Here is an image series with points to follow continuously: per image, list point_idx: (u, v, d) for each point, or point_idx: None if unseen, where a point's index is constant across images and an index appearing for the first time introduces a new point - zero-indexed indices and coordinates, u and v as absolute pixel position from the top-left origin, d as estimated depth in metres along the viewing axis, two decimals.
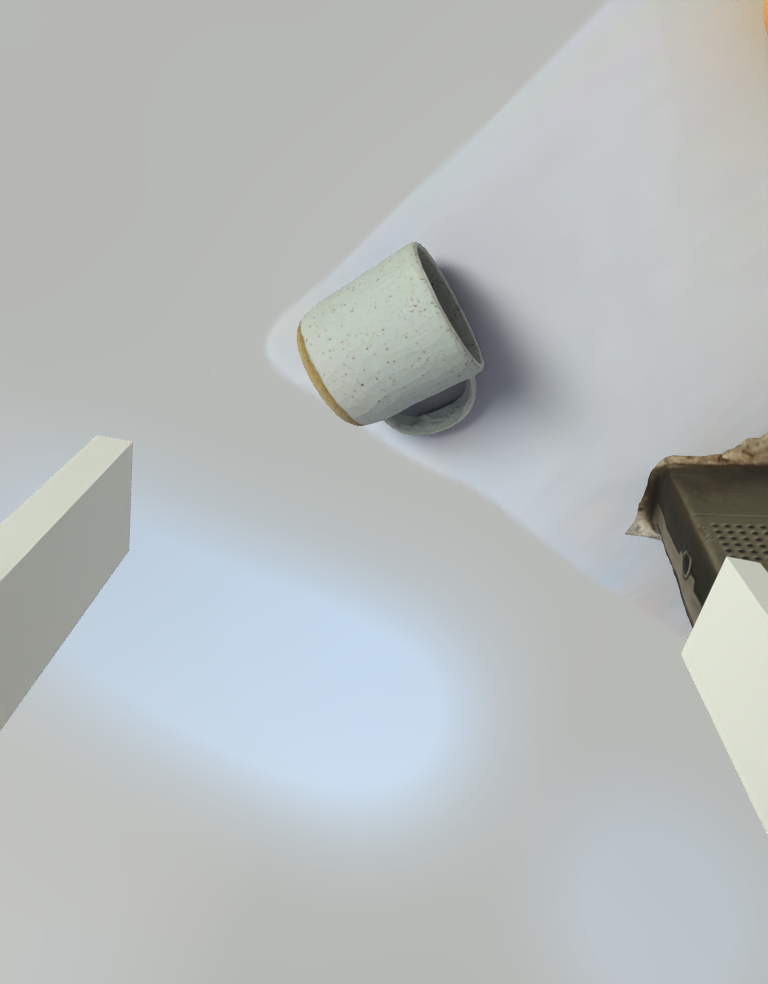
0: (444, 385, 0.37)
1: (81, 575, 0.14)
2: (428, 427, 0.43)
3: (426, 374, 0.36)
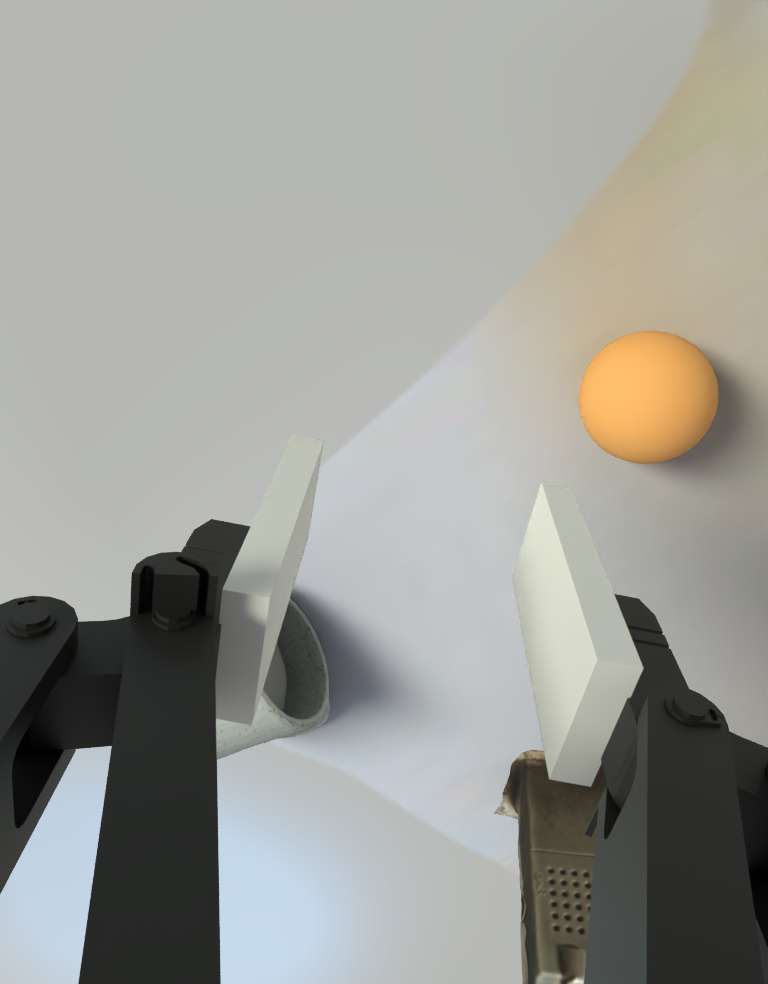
0: (281, 736, 0.37)
1: (296, 557, 0.16)
2: None
3: (256, 738, 0.35)
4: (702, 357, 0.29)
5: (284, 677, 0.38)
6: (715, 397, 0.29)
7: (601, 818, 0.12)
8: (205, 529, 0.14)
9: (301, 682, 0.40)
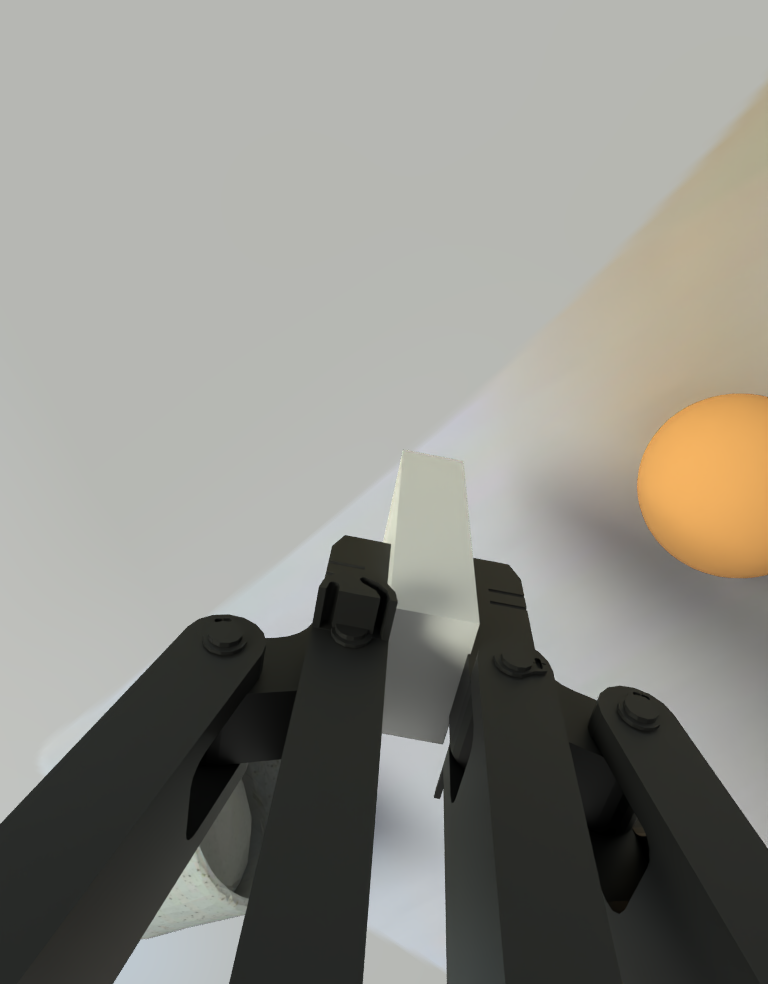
0: None
1: None
2: None
3: (207, 921, 0.27)
4: None
5: (248, 823, 0.30)
6: None
7: (447, 781, 0.12)
8: (342, 546, 0.15)
9: None
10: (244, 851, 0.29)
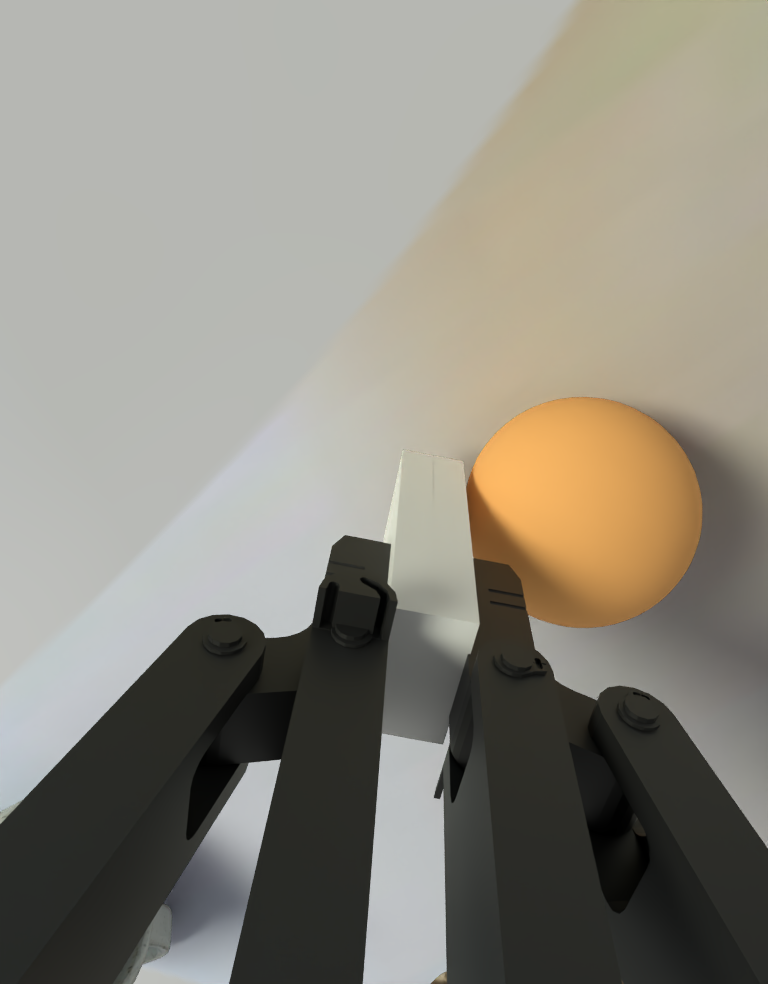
0: None
1: None
2: None
3: None
4: (669, 449, 0.16)
5: None
6: (695, 521, 0.16)
7: (447, 781, 0.12)
8: (342, 546, 0.15)
9: None
10: None
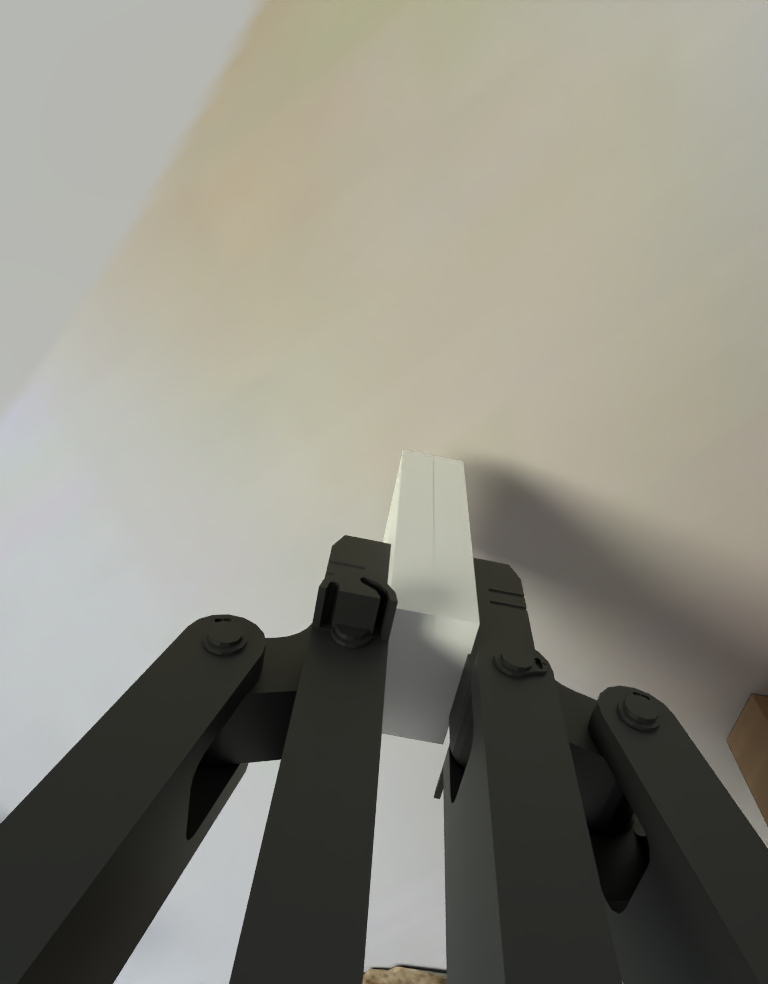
0: None
1: None
2: None
3: None
4: None
5: None
6: None
7: (447, 781, 0.12)
8: (341, 546, 0.15)
9: None
10: None
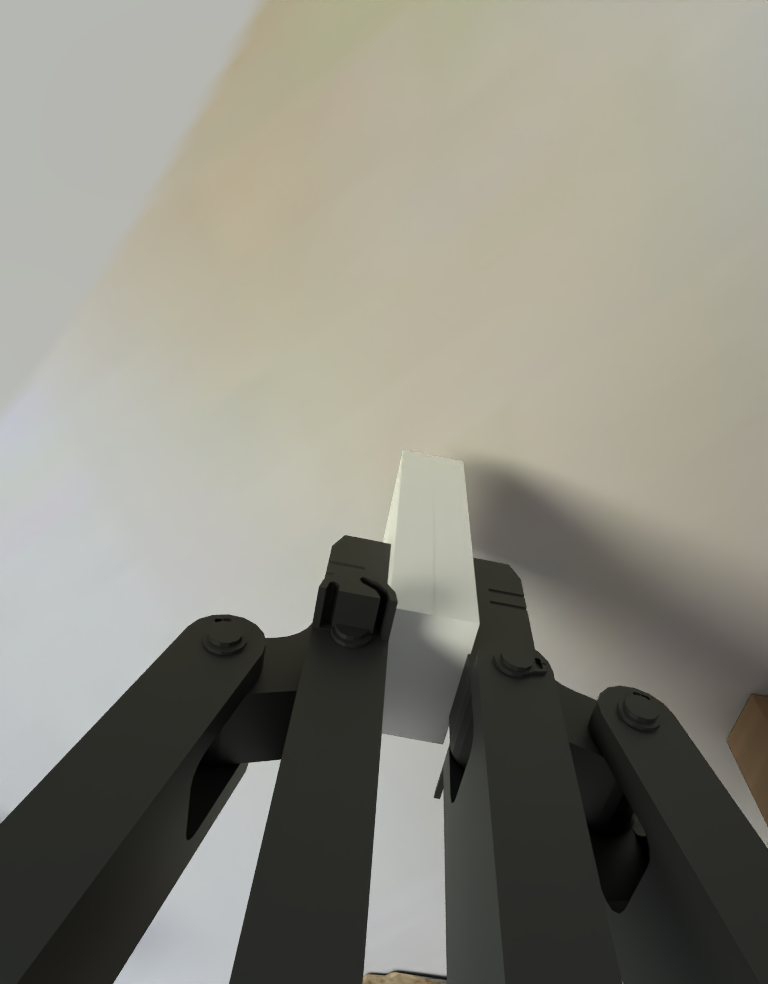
0: None
1: None
2: None
3: None
4: None
5: None
6: None
7: (447, 781, 0.12)
8: (341, 546, 0.15)
9: None
10: None
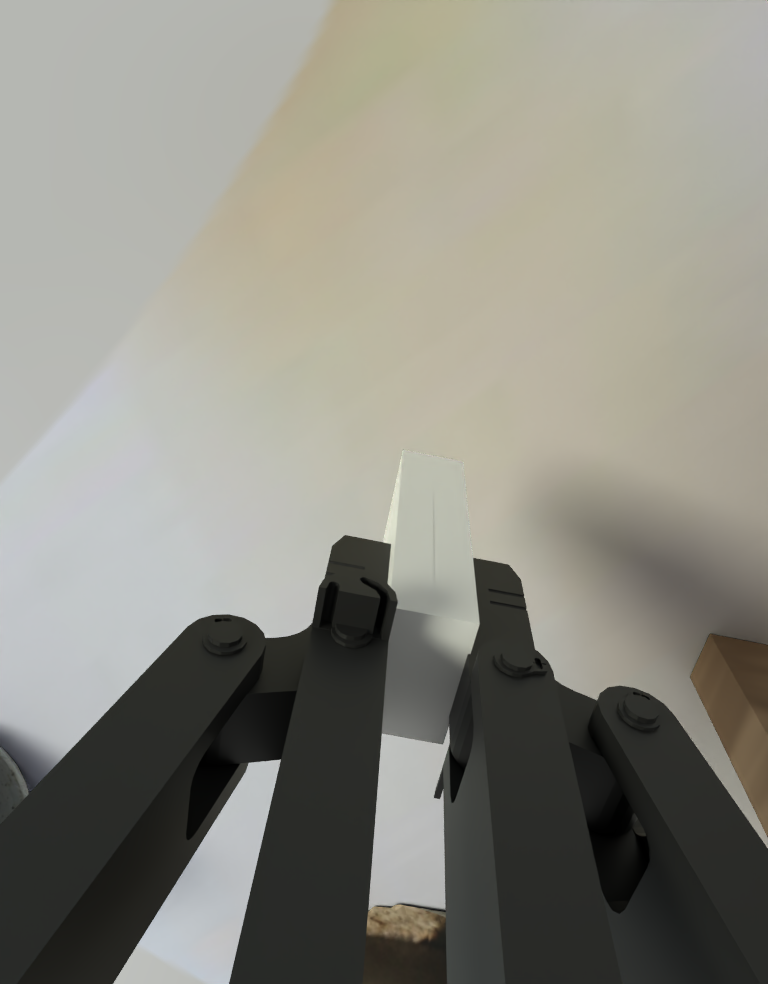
0: None
1: None
2: None
3: None
4: None
5: None
6: None
7: (447, 781, 0.12)
8: (342, 545, 0.15)
9: None
10: None
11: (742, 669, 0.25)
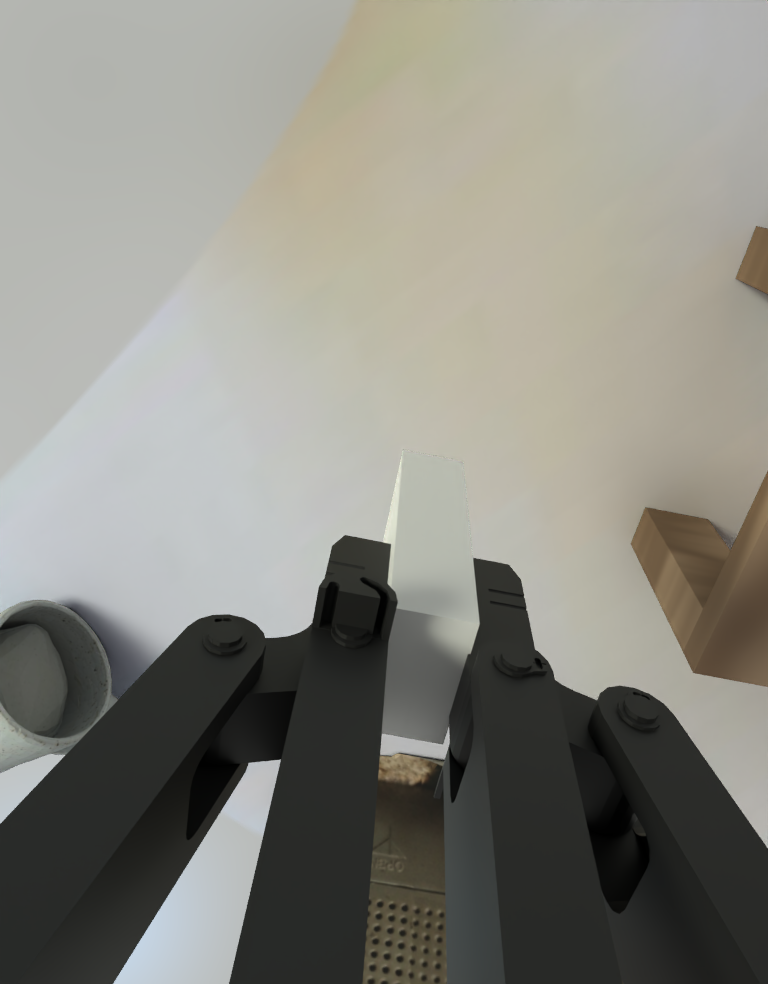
0: None
1: None
2: None
3: (10, 757, 0.34)
4: None
5: (60, 693, 0.37)
6: None
7: (447, 781, 0.12)
8: (342, 545, 0.15)
9: (85, 697, 0.39)
10: (52, 712, 0.36)
11: (667, 528, 0.32)
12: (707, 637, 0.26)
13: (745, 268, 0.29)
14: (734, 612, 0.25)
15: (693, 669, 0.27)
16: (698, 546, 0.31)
